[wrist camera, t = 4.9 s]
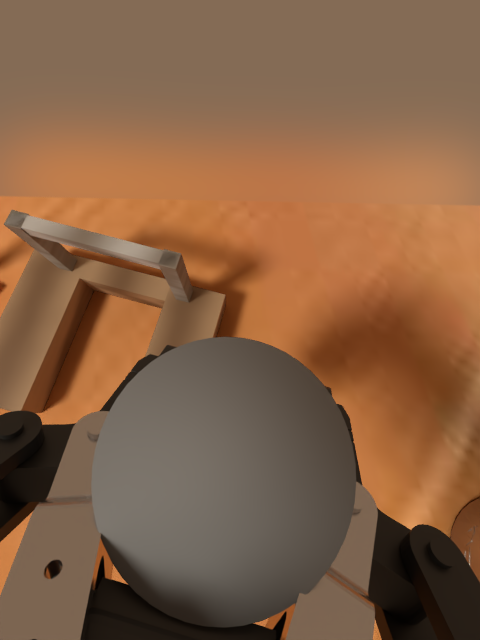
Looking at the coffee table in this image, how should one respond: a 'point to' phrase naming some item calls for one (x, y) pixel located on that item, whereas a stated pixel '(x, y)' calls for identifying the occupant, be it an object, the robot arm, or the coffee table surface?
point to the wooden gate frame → (73, 297)
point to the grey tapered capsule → (223, 482)
